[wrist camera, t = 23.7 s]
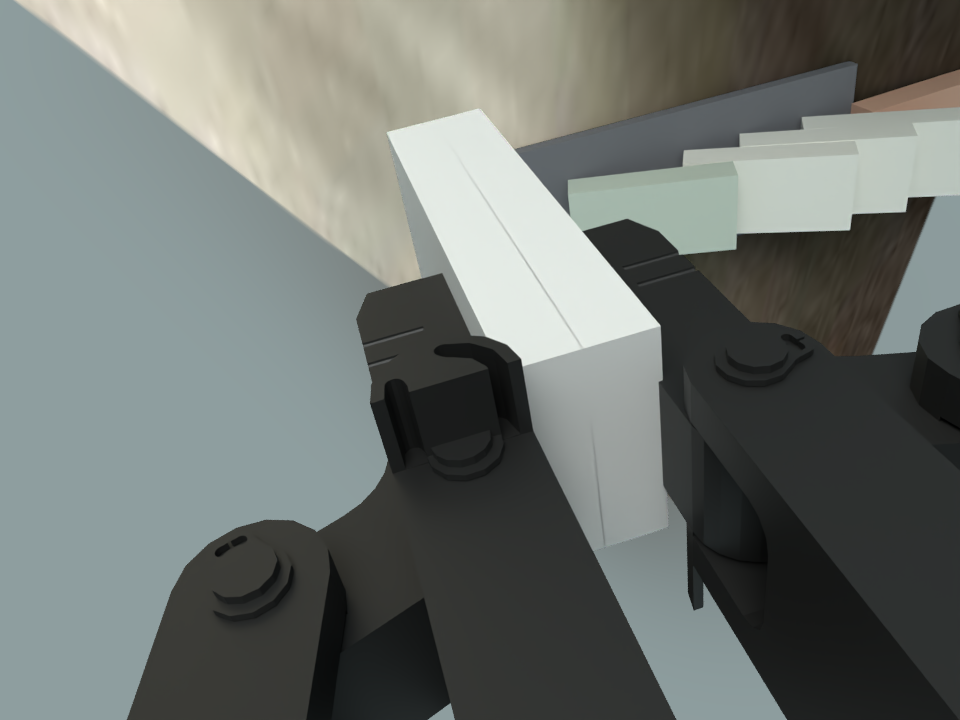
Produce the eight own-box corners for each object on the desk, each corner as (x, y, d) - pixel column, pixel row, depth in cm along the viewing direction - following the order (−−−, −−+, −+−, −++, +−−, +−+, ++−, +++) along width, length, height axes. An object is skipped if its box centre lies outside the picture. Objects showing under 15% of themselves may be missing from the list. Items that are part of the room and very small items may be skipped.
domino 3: (740, 146, 51) (918, 135, 48) (739, 133, 52) (911, 122, 50) (738, 218, 54) (905, 211, 51) (737, 204, 55) (900, 197, 53)
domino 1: (567, 194, 50) (738, 175, 48) (567, 180, 51) (732, 161, 50) (575, 264, 53) (736, 249, 51) (575, 249, 54) (731, 233, 52)
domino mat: (478, 158, 50) (481, 163, 49) (849, 60, 52) (857, 64, 52) (502, 296, 56) (505, 301, 55) (835, 201, 58) (842, 206, 58)
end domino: (873, 111, 52) (1002, 70, 53) (851, 103, 53) (978, 63, 55) (864, 184, 55) (987, 143, 56) (844, 174, 56) (964, 134, 58)
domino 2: (682, 163, 50) (859, 154, 48) (683, 150, 52) (854, 140, 49) (683, 235, 53) (849, 230, 51) (684, 220, 55) (846, 214, 52)
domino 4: (803, 129, 51) (983, 118, 49) (801, 117, 53) (975, 106, 50) (797, 201, 54) (966, 195, 52) (795, 187, 56) (959, 180, 53)
